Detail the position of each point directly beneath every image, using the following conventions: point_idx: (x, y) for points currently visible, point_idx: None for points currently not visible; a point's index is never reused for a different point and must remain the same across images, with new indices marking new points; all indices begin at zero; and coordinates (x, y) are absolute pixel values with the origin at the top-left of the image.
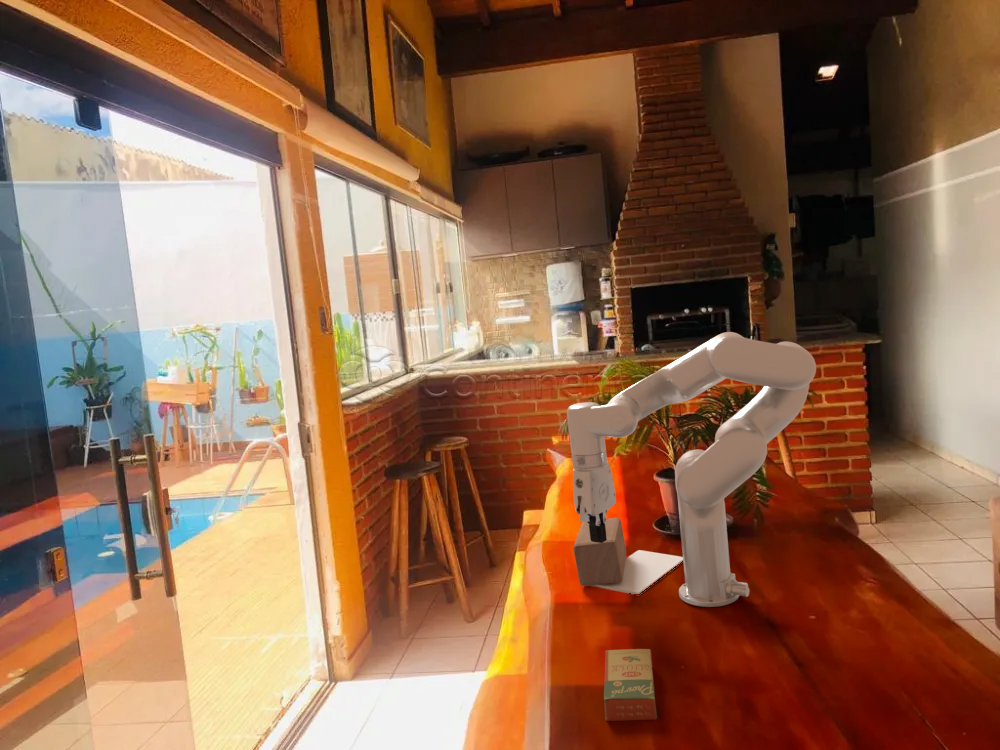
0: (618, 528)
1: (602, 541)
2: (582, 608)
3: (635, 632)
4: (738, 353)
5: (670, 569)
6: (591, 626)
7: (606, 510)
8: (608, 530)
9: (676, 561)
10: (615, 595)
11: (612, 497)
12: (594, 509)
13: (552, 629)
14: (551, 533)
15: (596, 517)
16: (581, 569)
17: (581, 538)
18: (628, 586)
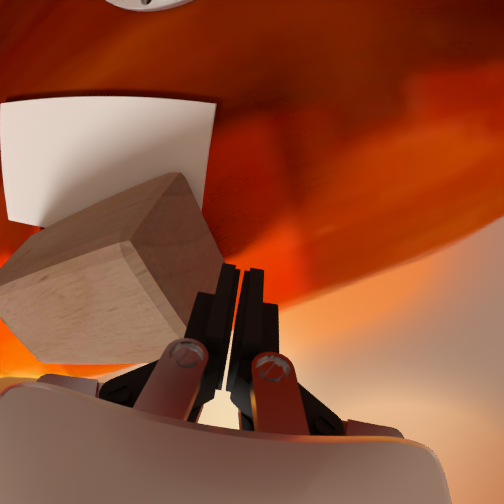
0: (19, 274)
1: (262, 273)
2: (332, 222)
3: (428, 60)
4: None
5: (53, 98)
6: (420, 170)
7: (110, 391)
8: (51, 297)
9: (18, 109)
10: (234, 167)
11: (33, 466)
12: (433, 487)
13: (434, 247)
14: (49, 371)
15: (297, 417)
16: None
17: (141, 354)
18: (181, 149)
